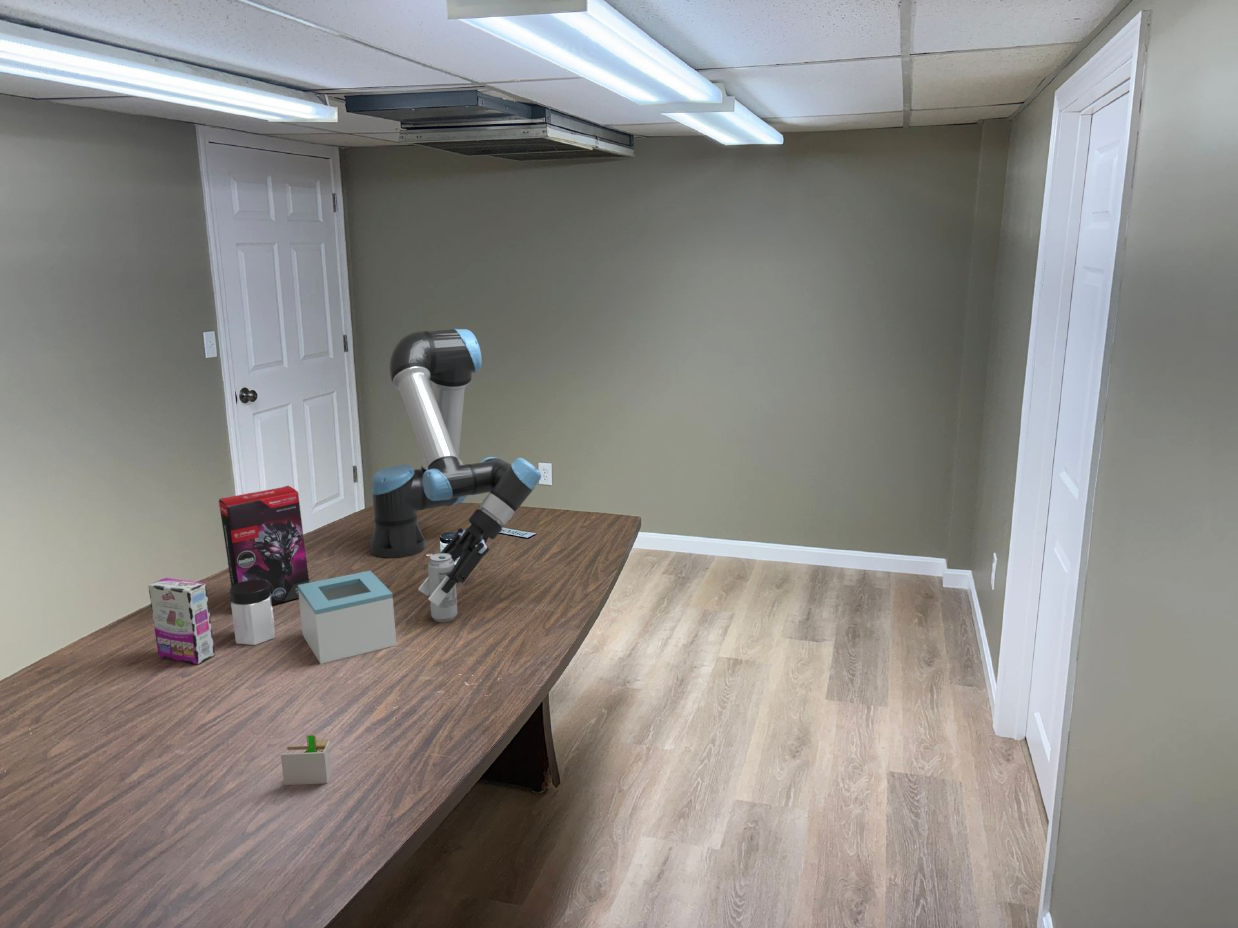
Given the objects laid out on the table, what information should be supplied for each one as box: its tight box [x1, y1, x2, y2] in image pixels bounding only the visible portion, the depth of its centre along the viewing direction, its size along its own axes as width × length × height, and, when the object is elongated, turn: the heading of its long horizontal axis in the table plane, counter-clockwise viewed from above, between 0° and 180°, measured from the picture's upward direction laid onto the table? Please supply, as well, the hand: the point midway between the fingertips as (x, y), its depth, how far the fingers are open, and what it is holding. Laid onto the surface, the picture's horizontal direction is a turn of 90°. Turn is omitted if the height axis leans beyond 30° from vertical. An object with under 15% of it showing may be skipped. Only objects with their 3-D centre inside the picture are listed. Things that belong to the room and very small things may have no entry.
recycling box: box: [298, 570, 397, 665], centre depth 190 cm, size 16×16×12 cm
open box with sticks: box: [280, 733, 332, 786], centre depth 141 cm, size 4×7×8 cm, turn 93°
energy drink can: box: [427, 552, 458, 623], centre depth 200 cm, size 6×6×15 cm
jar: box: [229, 580, 276, 646], centre depth 192 cm, size 9×8×12 cm
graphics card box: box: [218, 485, 310, 606], centre depth 209 cm, size 17×7×27 cm, turn 131°
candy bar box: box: [147, 577, 216, 665], centre depth 182 cm, size 11×5×16 cm, turn 70°
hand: (428, 597), depth 199 cm, fingers closed on energy drink can, 6 cm apart
